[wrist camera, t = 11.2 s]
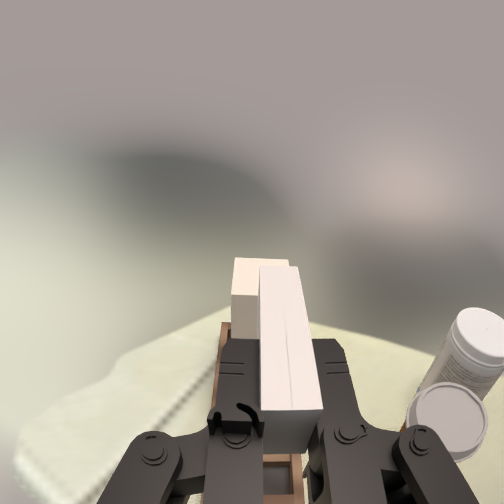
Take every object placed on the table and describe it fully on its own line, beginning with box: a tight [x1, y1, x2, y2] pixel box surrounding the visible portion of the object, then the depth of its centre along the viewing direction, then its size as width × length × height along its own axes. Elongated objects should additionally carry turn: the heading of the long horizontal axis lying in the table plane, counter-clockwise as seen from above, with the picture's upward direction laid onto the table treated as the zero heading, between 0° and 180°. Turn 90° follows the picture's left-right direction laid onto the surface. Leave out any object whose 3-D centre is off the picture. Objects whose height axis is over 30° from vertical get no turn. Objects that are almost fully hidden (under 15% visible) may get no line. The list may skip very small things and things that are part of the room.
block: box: [231, 258, 289, 339], centre depth 37 cm, size 7×6×15 cm
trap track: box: [201, 322, 305, 504], centre depth 36 cm, size 28×10×3 cm, turn 179°
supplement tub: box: [416, 308, 504, 401], centre depth 32 cm, size 10×10×15 cm
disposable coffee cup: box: [400, 382, 488, 463], centre depth 25 cm, size 10×10×12 cm
